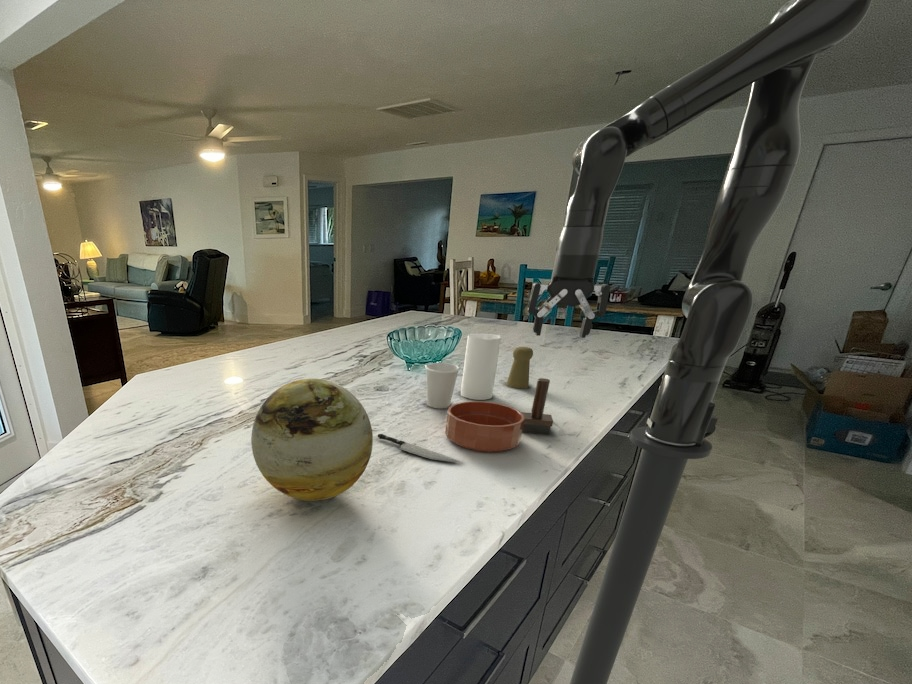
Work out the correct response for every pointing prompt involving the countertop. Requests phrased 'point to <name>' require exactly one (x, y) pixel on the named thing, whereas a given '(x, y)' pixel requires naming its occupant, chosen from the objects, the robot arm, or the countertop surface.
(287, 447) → the decorative sphere
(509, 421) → the bowl
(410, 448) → the chef's knife
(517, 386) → the olive pepper shaker
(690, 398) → the robot arm
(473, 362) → the white tall cylinder
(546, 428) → the scrub brush
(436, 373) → the dixie cup
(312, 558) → the countertop surface
